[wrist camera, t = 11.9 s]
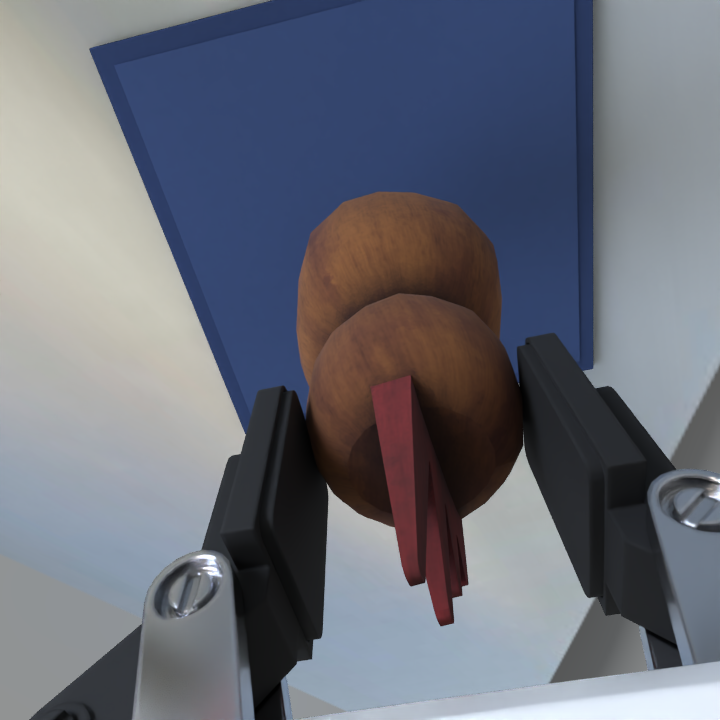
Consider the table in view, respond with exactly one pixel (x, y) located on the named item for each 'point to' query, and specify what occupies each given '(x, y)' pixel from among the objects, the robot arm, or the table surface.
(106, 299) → the table surface
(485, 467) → the wooden figurine
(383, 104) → the blue square tray
